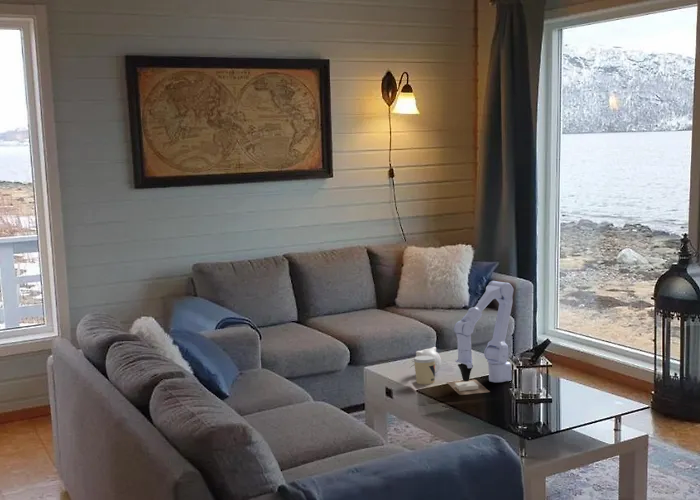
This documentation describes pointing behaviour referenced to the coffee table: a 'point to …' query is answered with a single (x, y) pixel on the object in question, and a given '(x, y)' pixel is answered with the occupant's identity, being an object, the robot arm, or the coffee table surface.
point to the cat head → (430, 353)
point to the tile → (466, 386)
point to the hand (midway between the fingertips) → (466, 380)
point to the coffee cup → (425, 369)
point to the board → (480, 390)
